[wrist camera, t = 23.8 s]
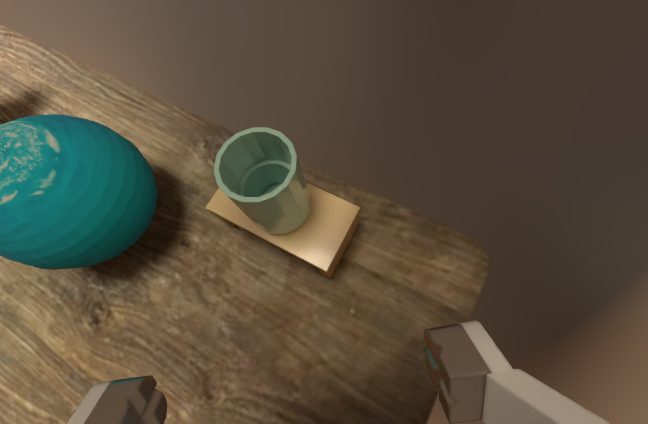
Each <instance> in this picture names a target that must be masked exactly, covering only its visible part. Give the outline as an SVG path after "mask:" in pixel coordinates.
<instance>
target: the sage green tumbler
mask: <svg viewBox="0 0 648 424" xmlns="http://www.w3.org/2000/svg"><path fill="white" fill-rule="evenodd" d="M214 175H215V179H216V182H217V185H218V186H219V187H220V189H221V190H222V191H223V192H224V193H225V194H226V195H227V196H228V198H229V199H230V200H231V201H232V202H233V203H234V204H235V205H236V206H237V207H238V208H239V209H240V210H241V211H242V212H243V213H244V214H245V215H246V216H247V217H248V218H249V219H250V220H251V221H252V222H253V223H254V224H255V225H256V226H257V227H258V228H259V229H261V230H263V231H265V232H267V233H270V234H285V233H288V232H291V231H294V230H295V229H297V228H298V227H299V226H300V225H301V224H302V223H303V222H304V221H305V220H306V218H307V216H308V214H309V212H310V204H311V198H310V195H309V192H308V189H307V186H306V183H305V179H304V176H303V173H302V170H301V167H300V164H299V161H298V157H297V155H296V152H295V149H294V147H293V144H292V142H291V141H290V140H289V139H288V138H287V137H286V136H284V135H283V134H282V133H281V132H278V131H276V130H273V129H270V128H250V129H247V130H244V131H241V132H238V133H236V134H235V135H234V136H232V137H231V138H230V139H229V140H227V141H226V142H225V143H224V144H223V146H222V147H221V149H220V150H219V152H218V154H217V155H216V159H215V165H214Z"/></svg>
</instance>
